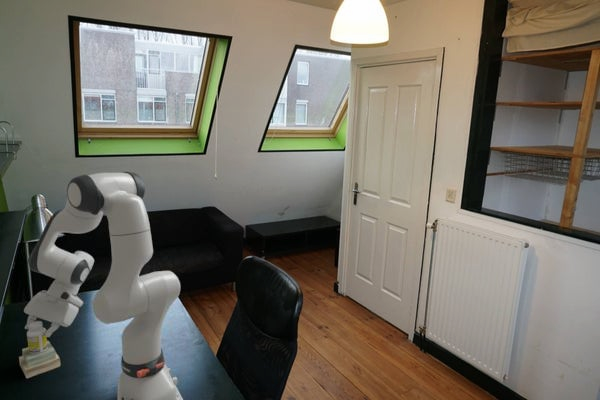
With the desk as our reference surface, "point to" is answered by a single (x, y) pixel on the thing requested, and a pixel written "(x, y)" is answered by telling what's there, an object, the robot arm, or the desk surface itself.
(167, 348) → the desk surface
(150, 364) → the robot arm
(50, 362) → the two-tone square platform
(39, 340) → the supplement bottle
